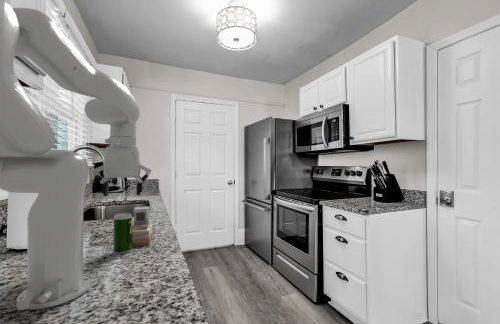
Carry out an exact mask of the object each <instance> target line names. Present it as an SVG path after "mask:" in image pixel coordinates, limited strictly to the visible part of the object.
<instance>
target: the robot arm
mask: <svg viewBox="0 0 500 324" xmlns="http://www.w3.org/2000/svg"><path fill="white" fill-rule="evenodd" d="M14 57H26V58H27V59H29V60H31V61H32V62H33V64H35V65H36V66H37V67H38V68H40V70H42V71H43V72H44V73H45V74H46V76H48V77H49V78H50V79H51V80H52V81H53V82H54V83H56V85H58V86H59V87H60V88H62V89H64V90H66V91H69V92H72V93H74V94H76V95H77V94H78V95H82V96H86V97H90V98H91V99H90V100H88V101H87V102H86V103H85V105H84V113H85V116H86V117H87V118H88V119H89V121H91V122H94V123H95V124H99V125H109V137H108V138H105V139H104V143H105V144H108V145H109V146H106V149H105V152H104V154H105V155H104V161H103V164H102V165H100V166H98V167H96V168H93V169H92V170H91V172H92V174H93V176H94V178H95V179H96V180H97V181H99V183H100V184H101V194H102V196H103V197H107V196H109V190H110V188H109V187H110V185H109V182H108V181H110V179H113V178H114V179H115V178H116V179H118V178H119V179H123V178H128V179H129V178H131V179H132V178H134V179H135V180H136V181H137V183H136V196H140V195H141V193H143V182H145V181H146V180H147V179H148V178H149V176H150V174H151V173H152V169H150V168H148V167H146V166H145V165H142V164H141V161H140V160H141V158H140V154H139V153H140V152H139V148H138V147H137V143H136V142H137V134H136V133H137V121H138V120H139V119H140V116H141V115H140V114H141V111H140V107H139V104H138V102H137V100H136V99H135V97H134V96H133V94H132V93H131V91H130V90H129V89H128V88H127V87H126V86H125V85H124V84H122V82H120V81H118V79H115V78H114V77H112V76H110V75H109V74H107V73H105V72H103V71H101V70H99V69H97V68H95V67H93V66H91V65H90V64H89V62H88V61H87V60H86V59H85V58H84V57H83V55H82V54H81V53H80V51H79V50H78V49H77V48H76V47H75V46H74V44H73V43H72V42H71V41H70V39H69V38H68V37H67V36H66V35H65V34H64V32H63V31H62V30H61V29H60V28H59V26H58V25H57V24H56V22H54V21H53V19H52V18H51V17H50V16H48V15H47V14H45V13H44V12H42V11H40V10H39V9H38V10H37V9H34V8H28V7H12V6H11V4H10V3H9V2H8V1H7V0H0V189H1V190H2V191H5V192H9V193H15V194H16V193H17V194H38V195H37V197H36V198H35V200H34V201H33V203H32V205H31V206H30V207H29V210H28V214H27V252H26V253H27V263H26V265H27V266H26V269H27V270H26V276H27V278H26V280H27V281H26V282H27V284H26V289H25V290H23V291H21V293H19V294H18V295H17V297H16V306H15V307H16V308H17V310H19V311H24V310H29V311H30V310H31V311H33V310H41V309H47V308H51V307H52V308H53V307H55V306H56V307H57V306H59V305H63V304H65V303H68V302H70V301H72V300H75V299H76V298H78V297H80V296H82V295H83V294H85V293H86V292H88V290H89V289H90V288H91V284H92V283H91V281H92V279H91V278H90V277H89V276H87V275H84V272H83V271H84V270H83V269H84V268H83V267H84V266H83V265H84V263H83V262H84V202H85V201H84V199H85V193H86V187H87V182H88V178H89V171H90V169H89V163H88V161H87V160H86V158H85V157H84V156H82V155H81V154H79V153H78V152H75V151H72V150H66V149H53V148H54V147H55V143H56V140H57V137H56V134H55V132H54V129H53V128H52V126H51V124H50V122H49V121H48V120H47V118H46V117H45V116H44V114H43V113H42V112H41V111H40V109H39V108H38V107H37V105H36V104H35V102H34V101H33V100H32V98H31V97H30V95H28V93H27V92H26V90H25V89H24V87H23V86H22V84H21V83H20V81H19V79H18V78H17V75H16V72H15V68H14V66H15V65H14ZM141 170H142V171H144V172H145V173H144V175H143V176H141ZM101 171H103V175H101V174H100V172H101Z"/></svg>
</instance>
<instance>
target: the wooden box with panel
mask: <svg viewBox="0 0 500 324" xmlns="http://www.w3.org/2000/svg"><path fill="white" fill-rule="evenodd" d="M155 230H156V229H155V227H153V224H150V206H149V205H148V206H144V205H143V206H135V207H134V208H133V225H132V248H133V247H134V248H135V247H144V246H145V247H146V246H150V245H151V242H152V239H153V238H154V235H155Z"/></svg>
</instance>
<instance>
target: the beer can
mask: <svg viewBox="0 0 500 324" xmlns="http://www.w3.org/2000/svg"><path fill="white" fill-rule="evenodd" d="M132 226H133V215H132V213H130V212H121V213H116V214H114V215H113V248H112V249H113V253H114V254H116V255H125V254H128V253H130V252H131V251H132V249H133V247H132Z"/></svg>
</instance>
